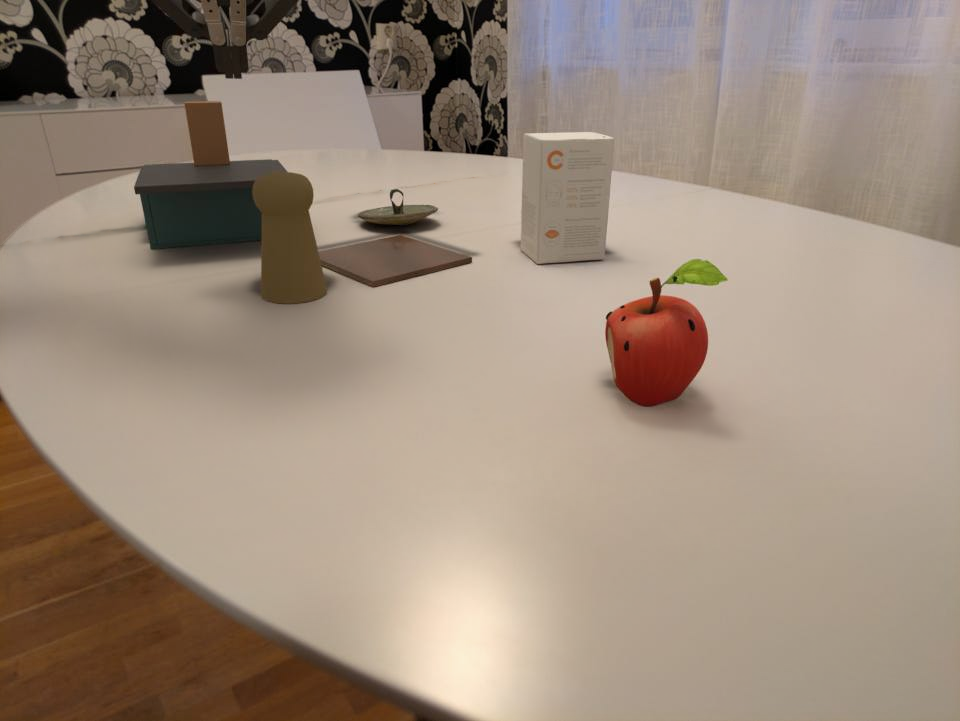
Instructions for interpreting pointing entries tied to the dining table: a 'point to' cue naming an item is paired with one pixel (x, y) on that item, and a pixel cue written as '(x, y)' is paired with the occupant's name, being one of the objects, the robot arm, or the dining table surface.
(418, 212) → the lid
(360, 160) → the dining table surface
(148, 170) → the bin lid
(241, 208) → the bin
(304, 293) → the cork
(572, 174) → the small box
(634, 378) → the apple
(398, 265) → the board
